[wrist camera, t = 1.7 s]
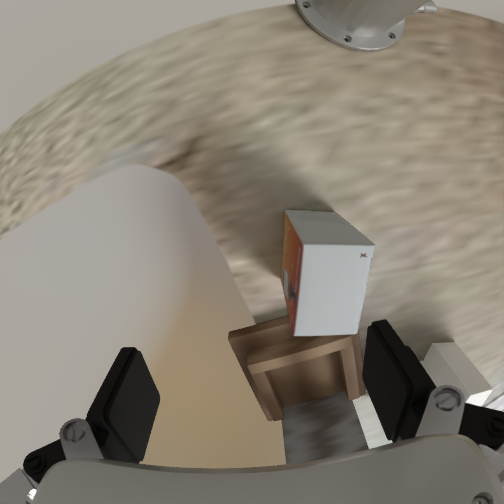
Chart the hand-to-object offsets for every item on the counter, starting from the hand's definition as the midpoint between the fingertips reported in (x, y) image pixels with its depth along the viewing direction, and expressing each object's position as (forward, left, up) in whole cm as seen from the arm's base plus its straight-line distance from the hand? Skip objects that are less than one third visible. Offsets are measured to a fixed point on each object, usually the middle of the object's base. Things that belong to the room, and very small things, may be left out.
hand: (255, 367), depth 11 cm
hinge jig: (-1, +20, -20) cm, 28 cm away
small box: (-5, +4, -21) cm, 21 cm away
